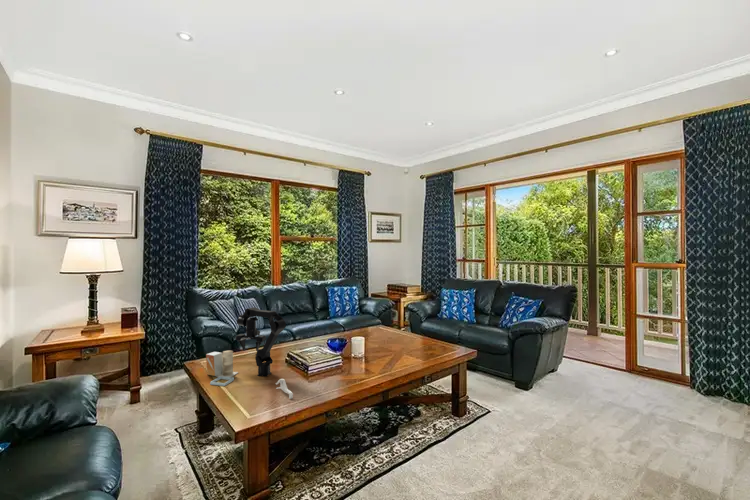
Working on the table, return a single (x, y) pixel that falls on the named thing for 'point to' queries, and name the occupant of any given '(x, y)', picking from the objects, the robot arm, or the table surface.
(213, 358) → the small box
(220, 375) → the mat
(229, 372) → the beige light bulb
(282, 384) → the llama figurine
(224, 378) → the light blue square frame
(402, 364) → the table surface
